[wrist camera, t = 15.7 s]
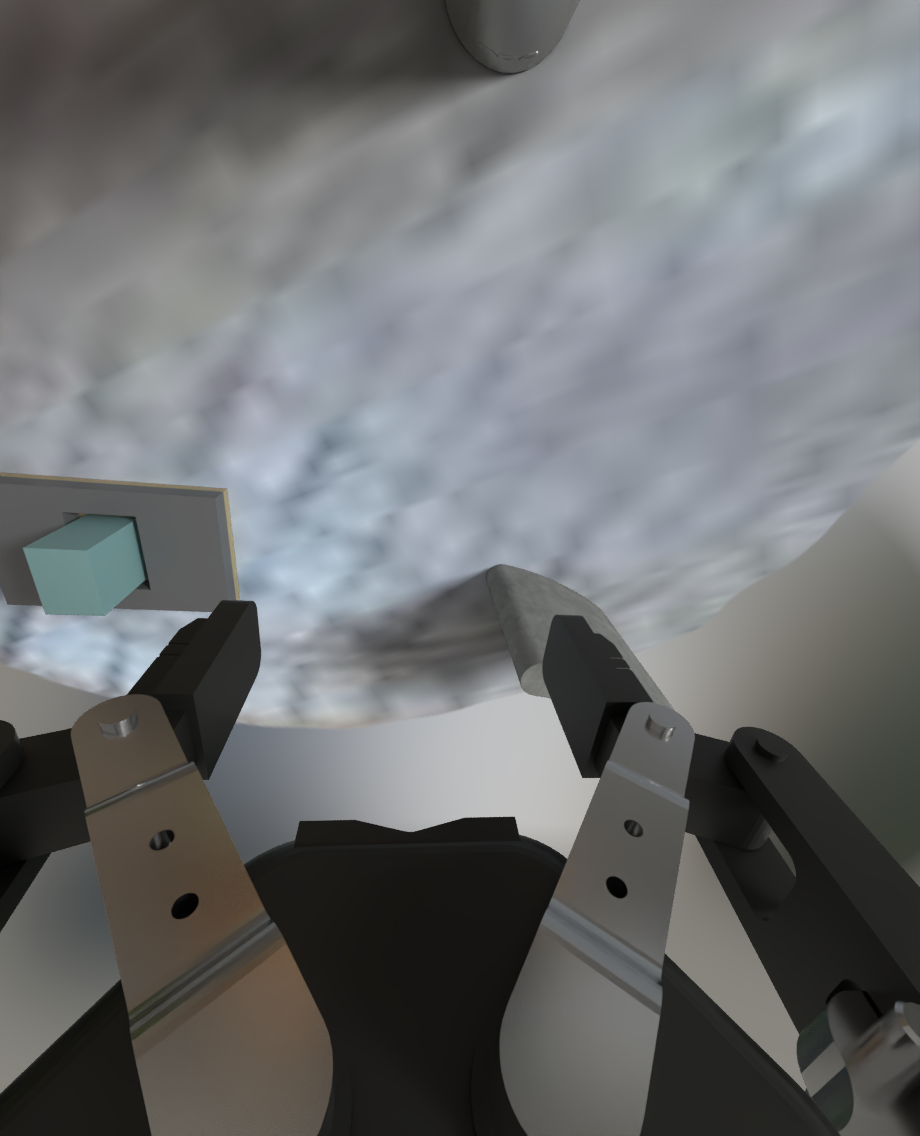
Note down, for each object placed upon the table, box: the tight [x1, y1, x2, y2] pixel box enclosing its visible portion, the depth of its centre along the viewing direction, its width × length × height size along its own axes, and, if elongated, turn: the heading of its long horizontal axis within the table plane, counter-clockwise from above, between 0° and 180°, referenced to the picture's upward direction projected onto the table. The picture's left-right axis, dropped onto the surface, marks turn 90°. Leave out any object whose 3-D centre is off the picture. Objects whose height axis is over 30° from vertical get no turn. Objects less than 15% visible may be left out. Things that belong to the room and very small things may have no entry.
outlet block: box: [0, 473, 240, 612], centre depth 44 cm, size 12×20×3 cm, turn 84°
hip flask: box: [486, 564, 675, 711], centre depth 44 cm, size 16×4×20 cm, turn 62°
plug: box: [23, 514, 148, 616], centre depth 40 cm, size 6×4×8 cm
